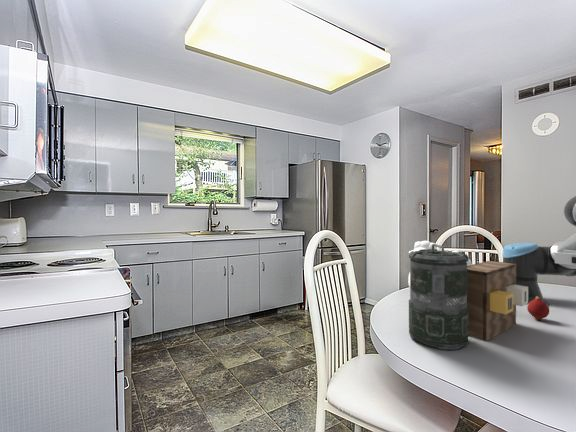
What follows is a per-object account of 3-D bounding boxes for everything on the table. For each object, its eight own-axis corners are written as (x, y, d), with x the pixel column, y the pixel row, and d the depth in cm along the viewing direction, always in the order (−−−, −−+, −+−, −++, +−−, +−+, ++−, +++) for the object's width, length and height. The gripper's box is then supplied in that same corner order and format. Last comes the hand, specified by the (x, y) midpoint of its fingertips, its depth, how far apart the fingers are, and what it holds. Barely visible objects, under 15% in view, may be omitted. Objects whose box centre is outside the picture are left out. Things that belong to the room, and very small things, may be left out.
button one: (509, 299, 100) (509, 283, 100) (528, 303, 96) (529, 286, 96) (503, 302, 97) (503, 286, 97) (522, 306, 93) (522, 289, 93)
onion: (544, 317, 106) (544, 295, 106) (552, 323, 101) (552, 299, 101) (524, 316, 108) (524, 293, 108) (531, 321, 103) (531, 298, 103)
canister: (401, 328, 98) (401, 242, 98) (451, 328, 98) (451, 241, 97) (421, 351, 83) (421, 248, 82) (480, 351, 82) (481, 248, 81)
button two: (493, 306, 93) (494, 289, 93) (514, 311, 89) (514, 293, 89) (486, 309, 90) (486, 292, 90) (506, 314, 86) (506, 296, 86)
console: (489, 317, 108) (489, 260, 107) (515, 324, 101) (516, 263, 101) (458, 332, 95) (458, 268, 94) (486, 341, 88) (486, 272, 88)
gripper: (712, 298, 54) (547, 275, 73) (713, 282, 65) (569, 266, 84) (712, 256, 54) (547, 244, 73) (714, 247, 65) (570, 239, 84)
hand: (559, 256), depth 79 cm, fingers open, 6 cm apart
